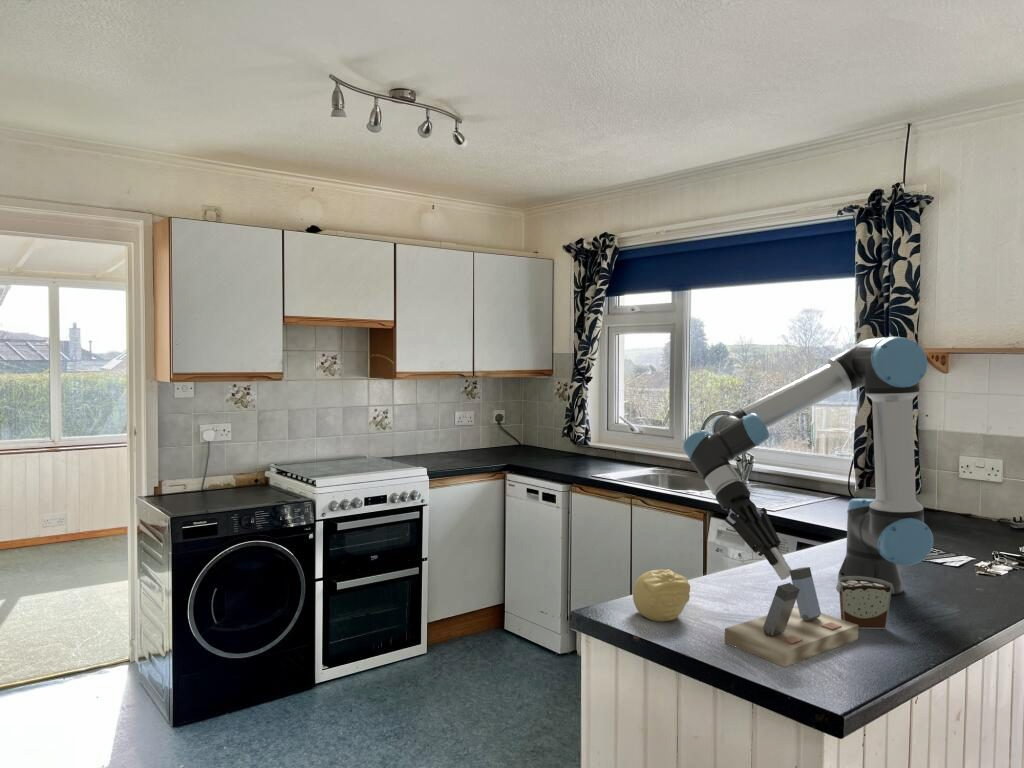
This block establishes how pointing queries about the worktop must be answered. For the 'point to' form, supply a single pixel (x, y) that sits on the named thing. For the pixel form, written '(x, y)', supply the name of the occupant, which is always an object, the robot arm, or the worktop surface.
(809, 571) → the lever
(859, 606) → the food container
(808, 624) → the switch board
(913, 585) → the worktop surface
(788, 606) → the lever
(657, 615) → the pale yellow wrinkled ball
